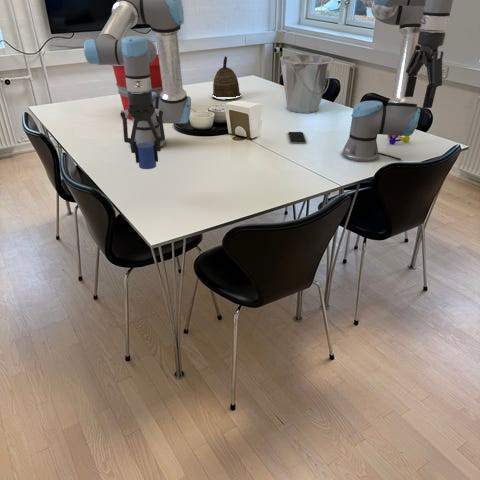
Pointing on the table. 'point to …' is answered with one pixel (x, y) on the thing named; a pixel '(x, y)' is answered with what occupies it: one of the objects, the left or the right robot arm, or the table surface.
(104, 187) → the table surface
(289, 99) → the bucket
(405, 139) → the educational toy
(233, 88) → the bell
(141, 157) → the can
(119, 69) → the bucket
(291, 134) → the smartphone
